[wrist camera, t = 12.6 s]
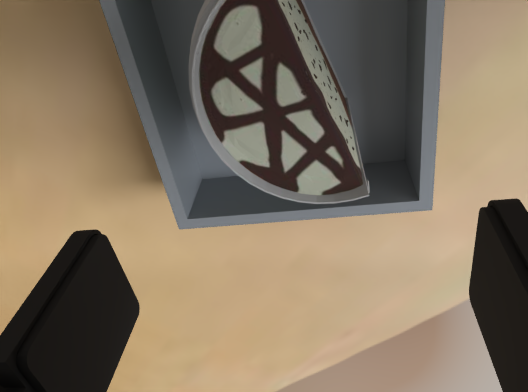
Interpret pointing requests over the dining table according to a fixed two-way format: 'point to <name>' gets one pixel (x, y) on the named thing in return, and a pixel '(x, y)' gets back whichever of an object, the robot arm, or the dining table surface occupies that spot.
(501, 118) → the dining table surface
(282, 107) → the food container
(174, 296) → the dining table surface
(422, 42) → the crate
